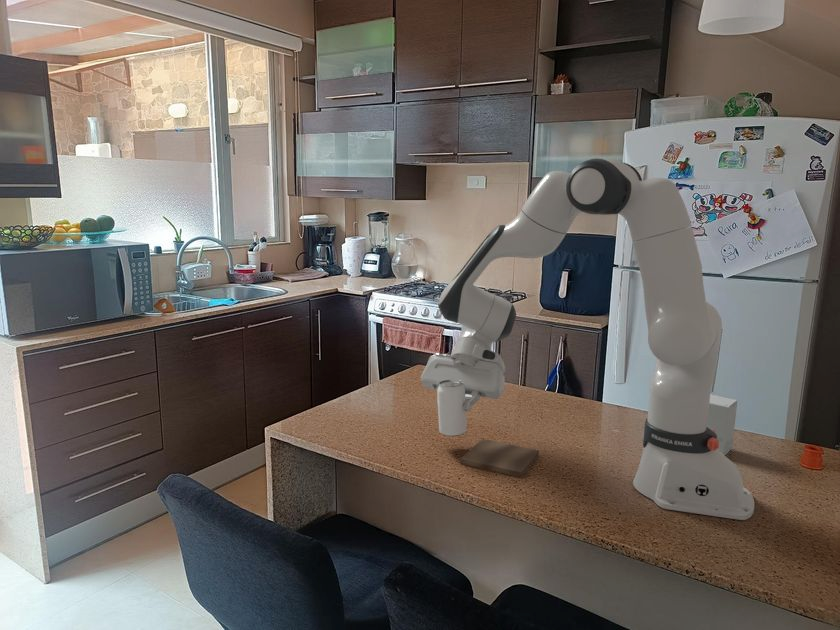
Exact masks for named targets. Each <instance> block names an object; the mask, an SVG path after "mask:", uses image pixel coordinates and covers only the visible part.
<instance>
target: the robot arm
mask: <svg viewBox="0 0 840 630" xmlns="http://www.w3.org/2000/svg"><path fill="white" fill-rule="evenodd" d="M582 212H583V213H585V214H589V215H600V216H611V215H620V216H621V217H623V218H624V220H625V222H626V223H627V225H628V228H629V231H630V232H629V233H630V236H631V241H632V242H633V244H632V245H633V249H634V252H635V257H636V261H637V264H638V269H639V272H640V276H641V281H642V287H643V299H644V308H645V316H646V323H647V325H646V326H647V334H648V335H647V341H648V346H649V350H650V351H651V353H652V354H653V355H654V356H655V358H656V364H655V368H654V371H653V374H652V379H651V383H650V390H649V400H648V410H647V418H645V421H644V425H643V432H642V446H643V449H642V454H641V459H640V462H639V465H638V468H637V471H636V473H635V476H634V478H633V481H632V485H633V486H634V488H635V489H636V490H637V491H638V492H639V493H640V494H642V495H643V496H645V497H647V498H648V499H650V500H652V501H653V502H654V503H655V504H656V505H657V506H658V507H660V508H661V509H664V510H669V511H675V512H676V511H677V512H682V513H683V512H684V513H690V514H698V515H703V516H704V515H705V516H711V517H716V518H725V519H731V520H732V519H733V520H739V521H745V520H746V521H747V520H748V519H750V518H751V517H752V516H753V515H754V513H755V500H754V497H753V495H752V493H751V492H750V490H748V489H747V488H746V487H744V482H743V476H742V474H741V471H740V469H739V468H738V466H737V464H735V463H734V462H733V461H731V460H730V459H729V458H728V457H727V455H726V456H724V455H723V454H722V453H721V452H720V451H719V450H718V447H719V441H718V440H717V435H716V434H715V433H716V432H715V430H714V429H713V431H712V430H711V429H709V428H708V427H707V419H708V411H709V402H710V394H711V393H712V386H713V381H714V377H715V370H716V367H717V362H718V361H717V360H718V355H719V349H720V342H721V338H722V337H721V336H722V328H723V324H722V318H721V316H720V313H719V312H718V310H717V309H716V308H715V307H714V306H713V305H712V304H710V303H709V302H707V301H706V293H705V286H704V279H703V277H704V276H703V266H702V261H701V258H700V253H699V250H698V245H697V241H696V238H695V233H694V229H693V227H692V225H693V224H692V223H691V219H690V216H689V213H688V210H687V207H686V204H685V201H684V200H683V197H682V195H681V192H680V191H679V189H678V187H677V185H676V184H675V183H674V181H672V180H670V179H667V178H664V177H653V178H647V179H643V178H642V176H641V174H640V173H639V171H638V170H637V169H636V168H635V167H634V166H632V165H631V164H629V163H626V162H621V161H619V160H616V159H612V158H590V159H586V160H584V161H583V162H580V163H579V164H578V165H576V166H575V167H574V168H573V169H572V170H571V172H568V171H564V170H551V171H549V172H547V173H546V174H544V176H543V177H542V178H541V179H540V180H539V182H538V183H537V184H536V186H535V187H534V188H533V190H532V192H531V193H530V195H528V197H527V199H526V201H525V202H524V205H523V206H522V207H521V210H520V212H519V213H518V214H517V216H516V217H515V218H513V220H511V221H509V222H508V223H506V224H499V225H497V226H495V227H494V228H493V229H492V230H491V231H490V232H489V234H488V235H487V236H486V237H485V238H484V240H483V241H482V242H481V244H479V246H478V247H477V249H475V251H474V252H473V254H472V255H471V256H470V258H469V259H468V260H467V261H466V262H465V264H464V265H463V267H462V268H461V270H460V271H459V272H458V273H457V275H455V276H454V278H453V279H452V280H451V281H450V282H449V283H448V284H447V285H446V287H445V288H444V289H443V290H442V292H441V294H440V296H439V300H438V303H437V305H438V308H439V311H440V313H441V316H442V317H443V319H444V320H446V321H450V322H452V323H456V324H459V325H461V328H460V329H461V330H460V332H461V333H460V335H459V337H458V338H457V339H456V342H455V344H454V347H453V349H452V353H451V354H449V353H447V354H445V353H440V352H439V353H438V352H437V353H435V354H433V355H431V356H429V358H428V361H427V364H426V366H425V367H424V369H423V371H422V373H421V376H420V381H421V383H422V384H423V386H424V388H426V389H431V390H435V391H436V395H437V399H436V402H435V404H436V406H437V407H438V387H439V382H441V381H444V380H450V381H448V382H460V381H462V382H463V386H464V388H465V394H468V395H472V397H471V398H470V399H469V400H467V401H464V405H463V407H462V408H463V409H464V411H466V412H471V410H472V407H473V406H474V405H475V404H476V403H477V402H478V401H479V400H480V397H481V398H486V399H494V400H498V399H499V398H501V397H502V396H503V392H504V387H505V382H506V381H505V379H506V378H505V375H504V374H505V372H506V365H505V362H504V360H503V358H502V356H501V355H500V354H499V353H498V352H496V351H493V350H492V345H493V343H497V342H501V341H502V340H504V339H507V338H508V337H509V336H510V335H511V333H512V331H513V328H514V325H515V321H516V318H517V311H516V309H515V306H514V304H513V303H512V302H510V301H508V300H506V299H505V298H503V297H500V296H498V295H496V294H493V293H491V292H488V291H486V290H484V289H482V288H480V287H477V286H476V285H475V283H476V281H477V280H478V279H479V277H480V276H481V275H482V274H483V272H484V271H485V270H486V269H487V267H488V266H489V265H490V264H491V263H492V262H494V260H498V259H501V258H518V259H520V258H522V259H538V258H543V257H546V256H548V255H550V254H552V253H554V252H555V251H556V250H557V248H558V247H559V246H560V244H561V243H562V241H563V240H564V238H565V236H567V233H568V231H569V230H570V228H571V226H572V224H573V222H574V221H575V219H576V218H577V216H578V215H580V214H581V213H582ZM458 380H460V381H458ZM711 395H712V394H711Z"/></svg>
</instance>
